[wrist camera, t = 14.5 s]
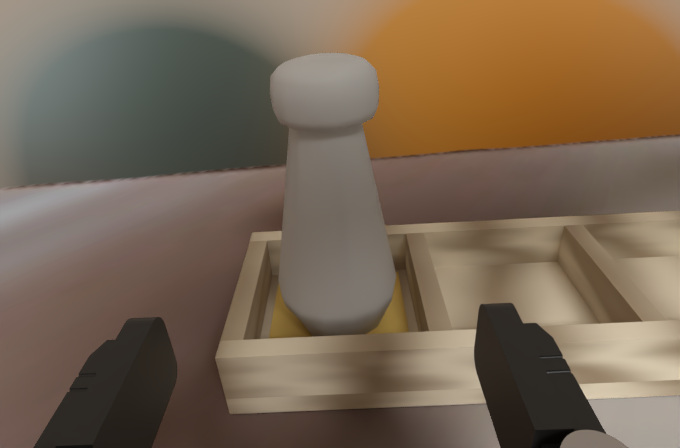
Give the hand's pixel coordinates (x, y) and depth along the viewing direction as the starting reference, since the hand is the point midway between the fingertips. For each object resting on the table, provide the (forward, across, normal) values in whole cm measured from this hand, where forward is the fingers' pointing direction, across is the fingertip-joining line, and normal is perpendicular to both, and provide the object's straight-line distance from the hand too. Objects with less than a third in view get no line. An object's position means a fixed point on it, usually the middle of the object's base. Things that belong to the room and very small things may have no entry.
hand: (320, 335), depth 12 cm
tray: (+10, -9, +9) cm, 16 cm away
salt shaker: (+10, 0, +8) cm, 13 cm away
